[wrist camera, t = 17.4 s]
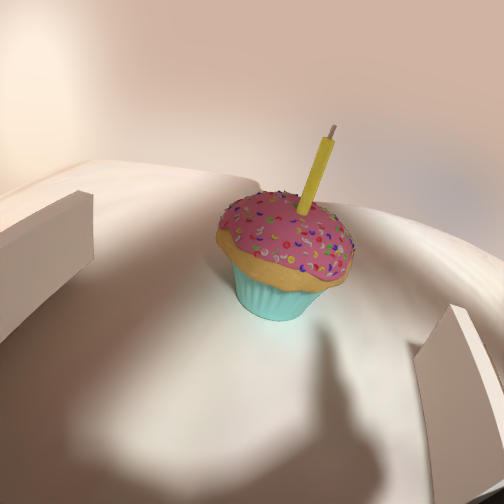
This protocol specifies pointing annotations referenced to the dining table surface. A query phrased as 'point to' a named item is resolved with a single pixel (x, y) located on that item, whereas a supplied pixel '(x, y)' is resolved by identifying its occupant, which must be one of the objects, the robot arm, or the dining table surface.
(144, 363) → the dining table surface
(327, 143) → the cupcake
